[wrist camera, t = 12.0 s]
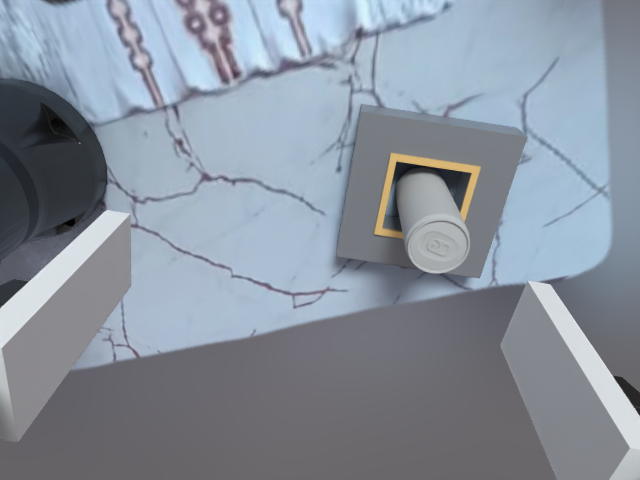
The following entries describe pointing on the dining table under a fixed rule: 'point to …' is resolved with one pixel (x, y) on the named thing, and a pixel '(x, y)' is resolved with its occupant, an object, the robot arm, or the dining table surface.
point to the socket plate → (435, 151)
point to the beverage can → (431, 222)
